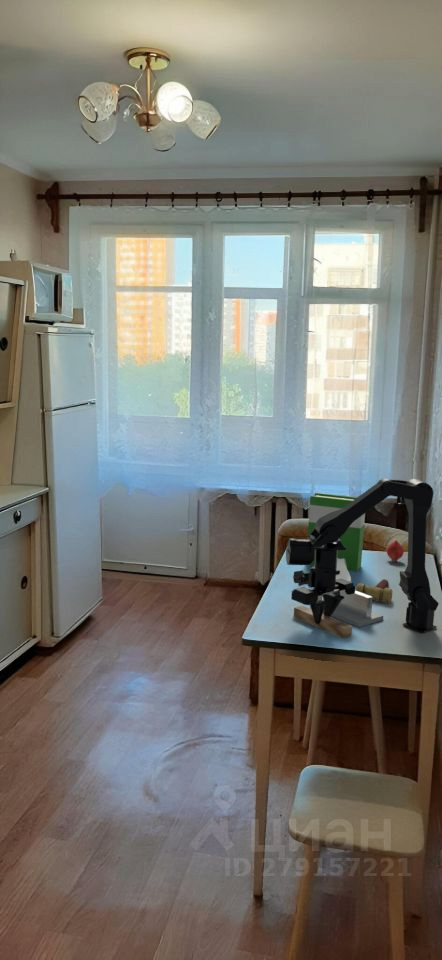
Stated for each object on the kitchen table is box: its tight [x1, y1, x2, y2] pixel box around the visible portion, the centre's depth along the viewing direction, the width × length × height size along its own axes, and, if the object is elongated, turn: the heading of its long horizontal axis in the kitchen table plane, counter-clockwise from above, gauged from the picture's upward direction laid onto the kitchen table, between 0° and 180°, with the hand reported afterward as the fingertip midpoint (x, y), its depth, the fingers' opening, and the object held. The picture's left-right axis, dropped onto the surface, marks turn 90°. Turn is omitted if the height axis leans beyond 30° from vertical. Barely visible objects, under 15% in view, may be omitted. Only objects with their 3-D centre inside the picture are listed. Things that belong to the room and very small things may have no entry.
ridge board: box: [322, 599, 384, 628], centre depth 198 cm, size 18×10×1 cm, turn 39°
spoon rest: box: [336, 558, 352, 582], centre depth 225 cm, size 24×12×7 cm, turn 162°
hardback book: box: [307, 492, 366, 573], centre depth 244 cm, size 18×7×24 cm, turn 69°
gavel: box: [355, 578, 393, 605], centre depth 218 cm, size 21×5×10 cm
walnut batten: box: [293, 605, 353, 639], centre depth 188 cm, size 18×3×3 cm, turn 39°
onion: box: [386, 539, 404, 562], centre depth 253 cm, size 6×6×8 cm
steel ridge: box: [322, 590, 374, 619], centre depth 198 cm, size 16×2×6 cm, turn 39°
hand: (321, 622), depth 188 cm, fingers open, 3 cm apart
